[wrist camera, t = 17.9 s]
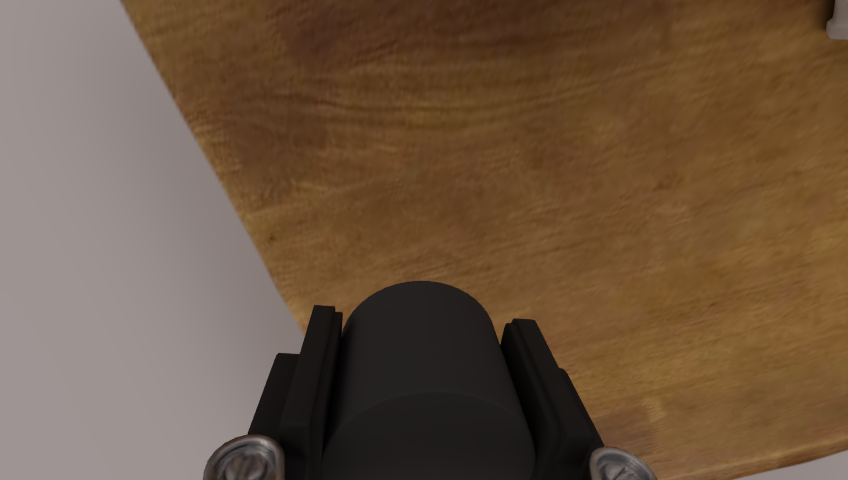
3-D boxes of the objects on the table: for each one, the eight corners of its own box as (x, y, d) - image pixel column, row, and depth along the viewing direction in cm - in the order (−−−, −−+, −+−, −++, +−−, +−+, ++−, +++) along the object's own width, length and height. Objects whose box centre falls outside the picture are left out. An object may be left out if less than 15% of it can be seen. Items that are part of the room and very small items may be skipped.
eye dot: (337, 402, 13) (316, 541, 10) (343, 274, 11) (321, 384, 8) (480, 408, 14) (512, 542, 10) (509, 286, 12) (560, 396, 8)
